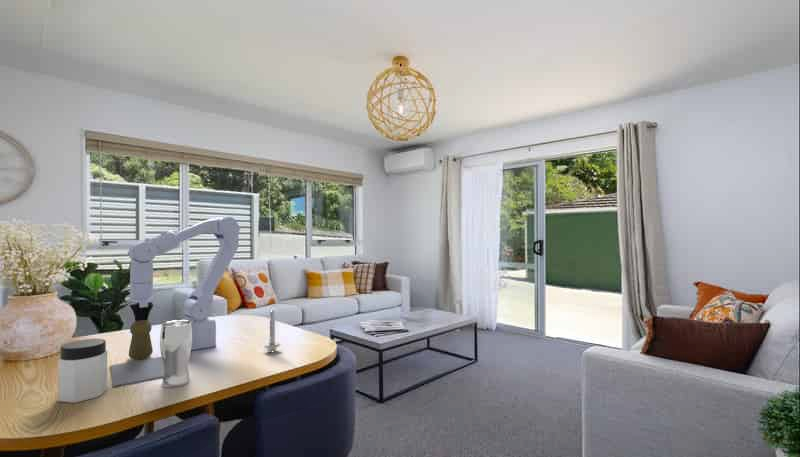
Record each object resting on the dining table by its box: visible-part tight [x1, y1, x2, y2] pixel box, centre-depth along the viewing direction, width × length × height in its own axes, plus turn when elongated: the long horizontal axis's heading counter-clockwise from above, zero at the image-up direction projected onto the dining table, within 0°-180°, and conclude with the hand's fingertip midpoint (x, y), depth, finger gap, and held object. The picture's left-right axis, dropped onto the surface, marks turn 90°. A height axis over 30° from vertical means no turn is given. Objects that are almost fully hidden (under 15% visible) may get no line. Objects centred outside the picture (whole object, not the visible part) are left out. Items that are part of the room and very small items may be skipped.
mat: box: [109, 356, 164, 388], centre depth 105 cm, size 15×18×1 cm
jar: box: [57, 338, 108, 404], centre depth 89 cm, size 9×8×12 cm
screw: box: [263, 310, 281, 353], centre depth 122 cm, size 13×5×5 cm
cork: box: [128, 320, 154, 361], centre depth 113 cm, size 6×6×11 cm
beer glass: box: [159, 319, 192, 389], centre depth 96 cm, size 7×7×15 cm
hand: (141, 327), depth 115 cm, fingers closed
